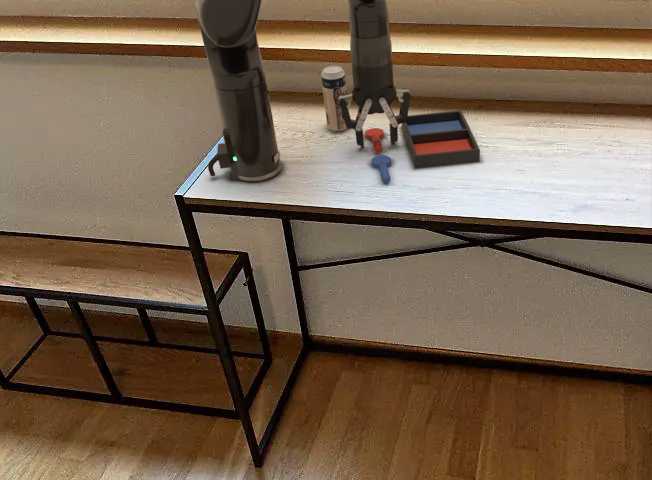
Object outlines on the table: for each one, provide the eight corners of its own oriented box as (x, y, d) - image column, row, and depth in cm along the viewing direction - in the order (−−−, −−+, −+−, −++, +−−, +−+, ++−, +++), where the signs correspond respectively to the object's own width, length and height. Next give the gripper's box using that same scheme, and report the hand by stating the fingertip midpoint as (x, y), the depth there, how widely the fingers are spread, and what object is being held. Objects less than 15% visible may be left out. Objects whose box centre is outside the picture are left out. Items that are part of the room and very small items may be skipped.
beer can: (345, 133, 146) (339, 75, 138) (323, 131, 147) (316, 73, 139) (353, 123, 149) (348, 65, 141) (332, 121, 151) (326, 63, 142)
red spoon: (388, 153, 139) (388, 145, 138) (369, 155, 139) (369, 147, 138) (382, 131, 146) (382, 123, 145) (364, 133, 146) (364, 125, 145)
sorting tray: (414, 168, 134) (414, 156, 133) (401, 127, 147) (401, 116, 145) (479, 161, 135) (480, 149, 134) (461, 121, 148) (461, 110, 146)
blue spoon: (396, 183, 131) (396, 175, 130) (376, 185, 131) (376, 177, 129) (390, 158, 138) (389, 150, 137) (370, 160, 138) (370, 152, 136)
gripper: (334, 69, 126) (343, 157, 138) (413, 61, 127) (416, 150, 138) (331, 54, 131) (340, 140, 143) (407, 46, 132) (410, 133, 144)
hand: (377, 144), depth 141 cm, fingers open, 5 cm apart
